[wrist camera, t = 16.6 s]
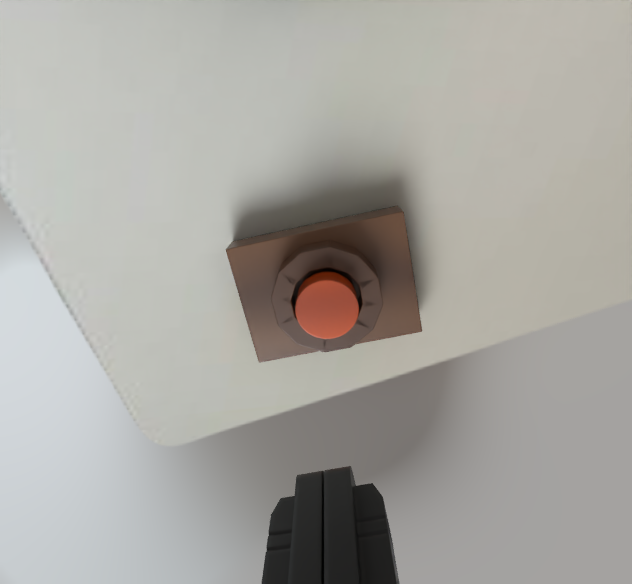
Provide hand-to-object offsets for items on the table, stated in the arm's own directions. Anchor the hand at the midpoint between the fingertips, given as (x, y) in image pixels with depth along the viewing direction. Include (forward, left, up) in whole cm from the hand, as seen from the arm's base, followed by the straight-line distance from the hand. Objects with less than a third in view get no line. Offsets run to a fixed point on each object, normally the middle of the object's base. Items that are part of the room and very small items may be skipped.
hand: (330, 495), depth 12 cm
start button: (0, 0, -15) cm, 15 cm away
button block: (0, 0, -19) cm, 19 cm away
